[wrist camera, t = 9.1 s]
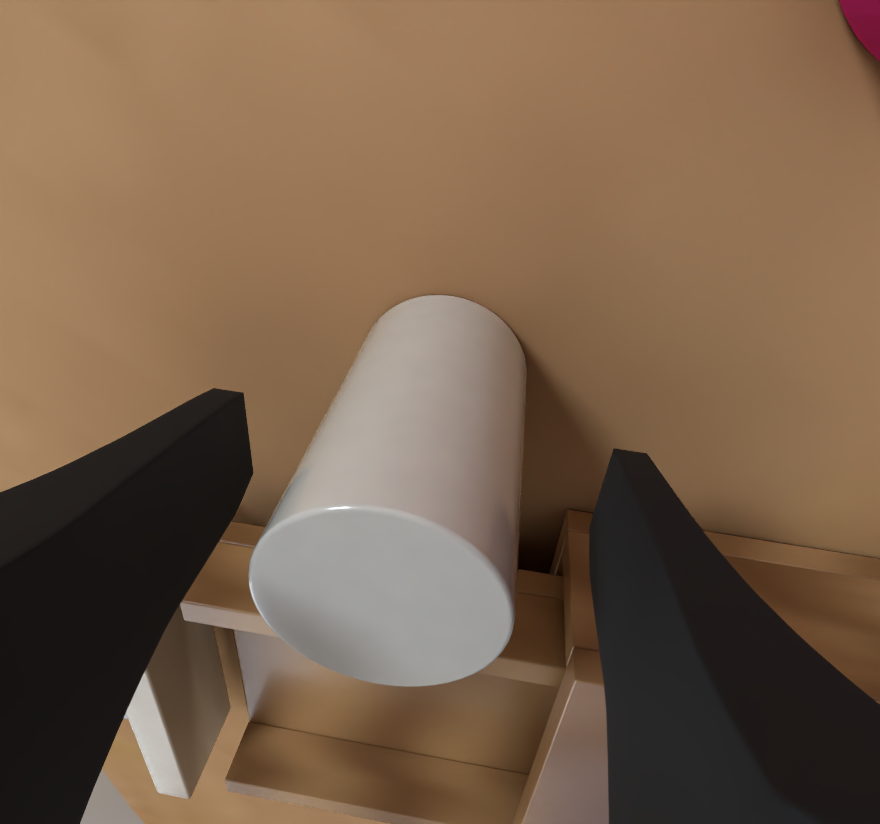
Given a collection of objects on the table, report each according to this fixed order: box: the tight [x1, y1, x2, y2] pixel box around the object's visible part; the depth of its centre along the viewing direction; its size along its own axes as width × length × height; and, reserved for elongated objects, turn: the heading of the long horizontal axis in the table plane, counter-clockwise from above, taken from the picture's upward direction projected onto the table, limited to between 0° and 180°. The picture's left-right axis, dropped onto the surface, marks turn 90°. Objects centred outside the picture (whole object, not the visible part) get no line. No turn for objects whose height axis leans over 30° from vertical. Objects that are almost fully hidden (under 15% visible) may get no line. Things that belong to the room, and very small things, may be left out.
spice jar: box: [248, 295, 527, 687], centre depth 12 cm, size 4×4×7 cm
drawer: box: [124, 521, 567, 824], centre depth 18 cm, size 18×11×3 cm, turn 85°
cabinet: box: [512, 510, 880, 824], centre depth 17 cm, size 15×13×5 cm
